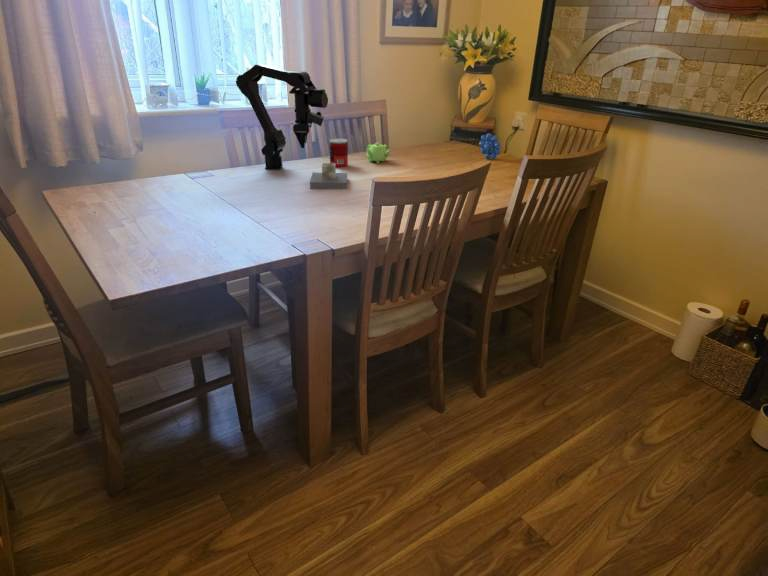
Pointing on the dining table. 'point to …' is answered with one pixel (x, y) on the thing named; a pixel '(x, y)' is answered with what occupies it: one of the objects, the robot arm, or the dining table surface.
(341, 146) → the canned food
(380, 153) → the green rounded lump
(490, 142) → the grapes
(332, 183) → the base slab
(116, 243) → the dining table surface
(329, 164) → the sage block
